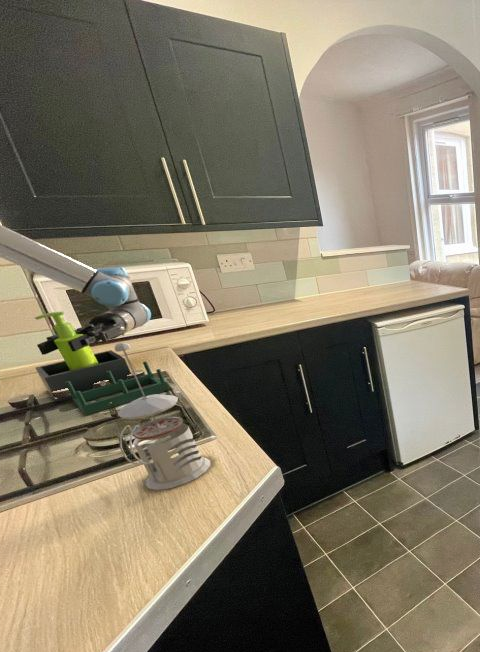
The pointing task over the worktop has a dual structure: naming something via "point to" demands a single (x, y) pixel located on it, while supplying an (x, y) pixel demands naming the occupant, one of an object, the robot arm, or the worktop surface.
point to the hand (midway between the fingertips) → (56, 347)
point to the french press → (163, 467)
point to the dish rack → (115, 387)
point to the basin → (83, 373)
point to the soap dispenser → (66, 334)
